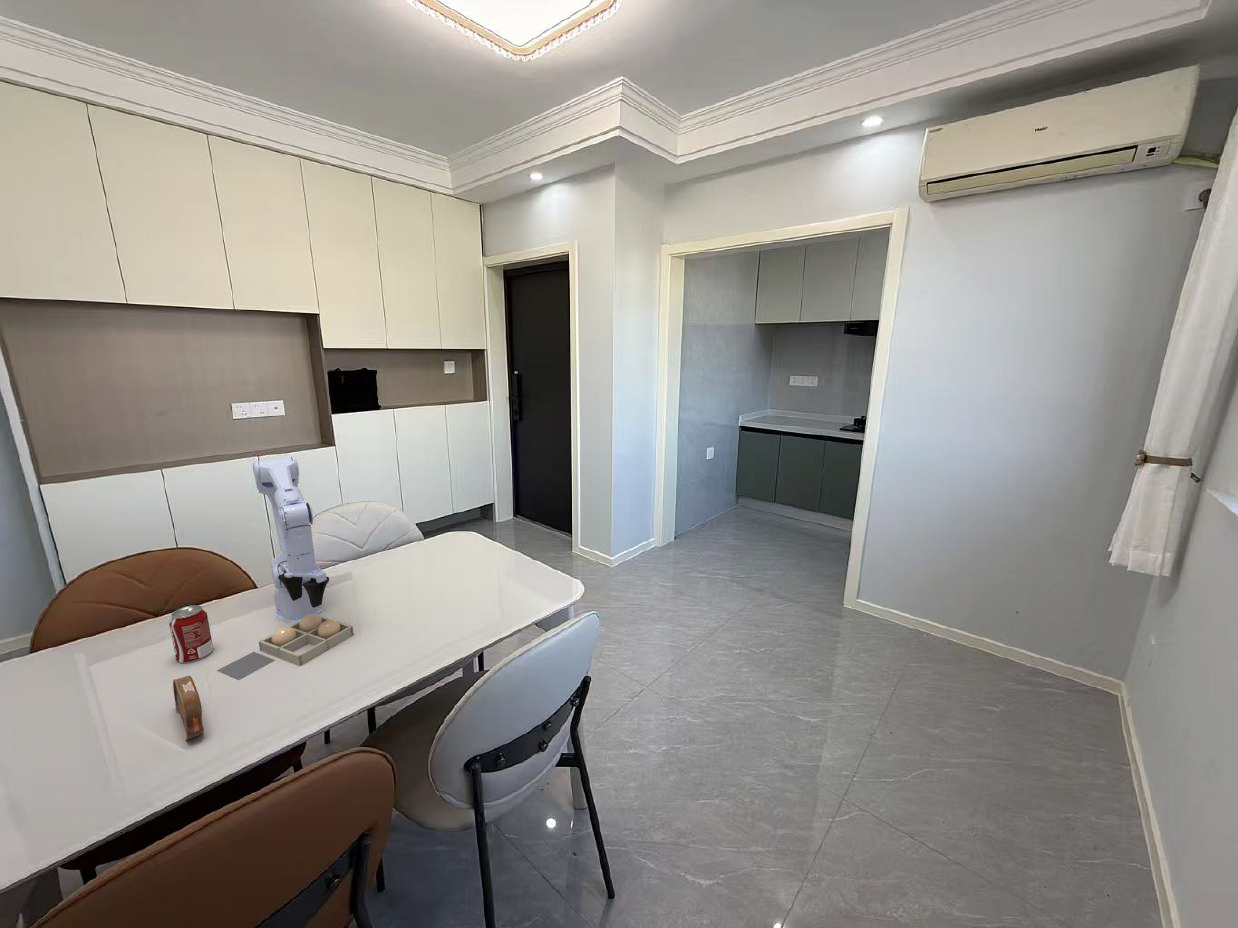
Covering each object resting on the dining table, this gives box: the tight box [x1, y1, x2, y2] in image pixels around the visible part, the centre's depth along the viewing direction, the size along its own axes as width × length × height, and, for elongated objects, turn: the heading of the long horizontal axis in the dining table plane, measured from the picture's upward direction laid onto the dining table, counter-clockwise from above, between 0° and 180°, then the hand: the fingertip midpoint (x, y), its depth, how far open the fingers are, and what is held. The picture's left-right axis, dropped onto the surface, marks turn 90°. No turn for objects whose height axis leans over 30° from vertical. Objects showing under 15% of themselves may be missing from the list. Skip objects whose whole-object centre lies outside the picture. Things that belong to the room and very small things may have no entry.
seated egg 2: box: [318, 619, 341, 639], centre depth 125 cm, size 5×5×5 cm
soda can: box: [168, 604, 214, 664], centre depth 117 cm, size 7×7×12 cm
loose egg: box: [271, 626, 296, 647], centre depth 122 cm, size 5×5×5 cm
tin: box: [172, 675, 205, 741], centre depth 96 cm, size 15×3×8 cm, turn 47°
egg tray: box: [258, 615, 354, 667], centre depth 124 cm, size 14×14×3 cm
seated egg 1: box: [299, 613, 322, 633], centre depth 128 cm, size 5×5×5 cm
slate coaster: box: [216, 651, 276, 681], centre depth 115 cm, size 8×8×1 cm
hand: (306, 602), depth 125 cm, fingers open, 7 cm apart
